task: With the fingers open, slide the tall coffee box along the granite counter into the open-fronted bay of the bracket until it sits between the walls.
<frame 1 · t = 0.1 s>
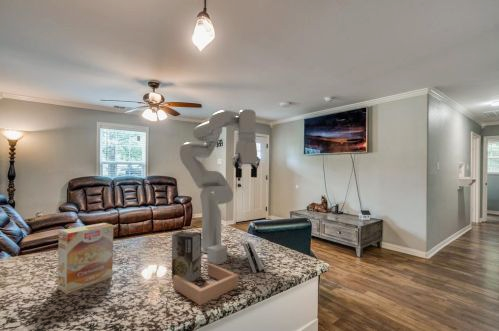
hand: (246, 177, 107), 37 cm above the countertop, tool pointing down, fingers open, 9 cm apart
coffeecake box: (86, 283, 86), on the countertop
coffee box: (186, 277, 92), on the countertop
bracket: (206, 287, 84), on the countertop
light grey cube: (217, 261, 108), on the countertop
grey game console: (252, 265, 104), on the countertop
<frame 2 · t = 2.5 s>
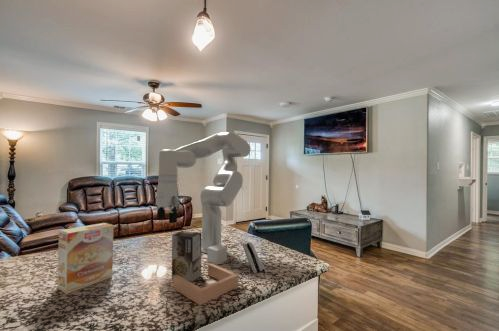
hand: (166, 220, 101), 19 cm above the countertop, tool pointing down, fingers open, 9 cm apart
nothing on the countertop moved.
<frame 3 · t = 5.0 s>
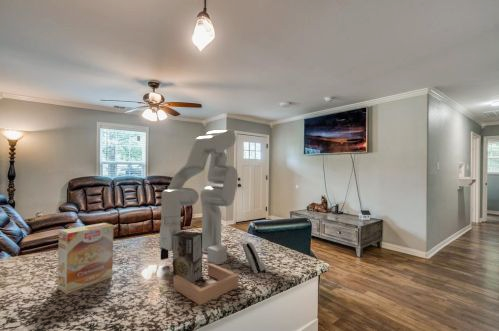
hand: (170, 262, 100), 2 cm above the countertop, tool pointing down, fingers open, 9 cm apart
coffee box: (187, 277, 91), on the countertop, touching gripper
everything else where it was.
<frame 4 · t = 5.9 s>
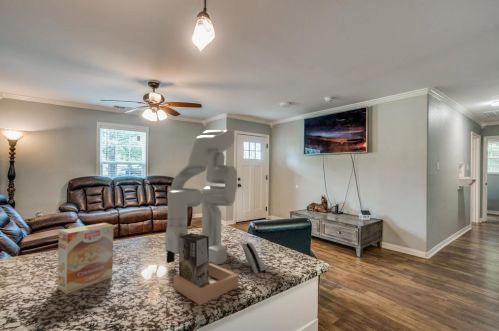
hand: (176, 265, 97), 2 cm above the countertop, tool pointing down, fingers open, 9 cm apart
coffee box: (193, 282, 88), on the countertop, touching gripper
everything else where it was.
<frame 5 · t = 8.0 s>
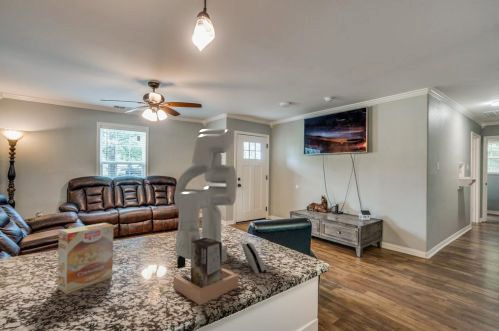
hand: (188, 271, 91), 2 cm above the countertop, tool pointing down, fingers open, 9 cm apart
coffee box: (205, 290, 82), on the countertop, touching gripper, bracket
everything else where it was.
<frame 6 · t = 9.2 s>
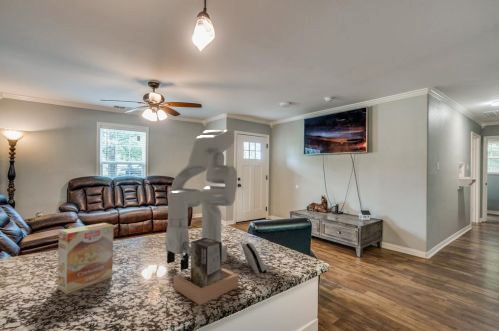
hand: (177, 265, 96), 2 cm above the countertop, tool pointing down, fingers open, 9 cm apart
coffee box: (205, 290, 82), on the countertop
everything else where it was.
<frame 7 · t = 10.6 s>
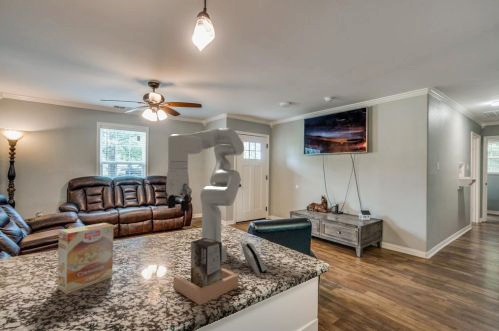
hand: (178, 209, 97), 24 cm above the countertop, tool pointing down, fingers open, 9 cm apart
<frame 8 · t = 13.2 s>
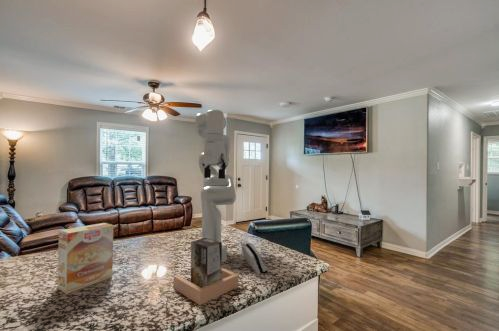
hand: (214, 178, 107), 36 cm above the countertop, tool pointing down, fingers open, 9 cm apart
at the end: coffee box inside the target area on the bracket (1.7 cm from its centre), point 0.0 cm above the bracket's base; coffee box tilted 0°; coffee box moved 13.5 cm from its start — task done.
